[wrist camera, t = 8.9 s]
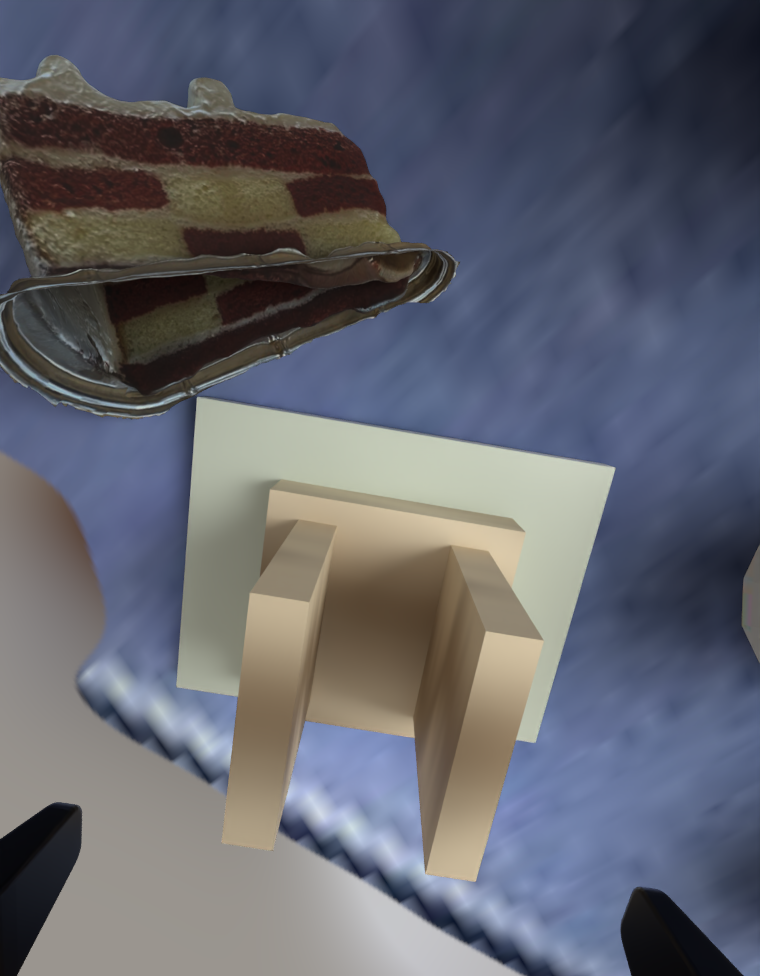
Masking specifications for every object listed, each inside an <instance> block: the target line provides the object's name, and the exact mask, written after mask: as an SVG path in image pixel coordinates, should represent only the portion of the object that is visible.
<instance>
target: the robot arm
mask: <svg viewBox="0 0 760 976" xmlns="http://www.w3.org/2000/svg"><path fill="white" fill-rule="evenodd" d="M81 831H82V810H81V808H80V806H78V805H75V804H68V803H61V802H56V803H53V804H51V805H49V806H47V807H45V808H44V809H43V810H41V811H40V812H39V813H37V814H35V815H34V816H33V817H31V818H30V819H28V820H27V821H25V822H24V823H23V824H21V825H20V826H18V827H17V828H16V829H14V830H13V831H11V832H10V833H8V834H7V835H6V836H4V837H3V838H1V839H0V976H17V974H18V973H19V971H20V969H21V967H22V965H23V963H24V961H25V959H26V957H27V955H28V953H29V952H30V949H31V948H32V946H33V944H34V942H35V940H36V938H37V936H38V934H39V932H40V930H41V928H42V927H43V925H44V923H45V921H46V919H47V917H48V915H49V913H50V911H51V909H52V907H53V905H54V903H55V901H56V900H57V898H58V896H59V894H60V892H61V890H62V888H63V886H64V884H65V882H66V880H67V878H68V877H69V875H70V872H71V871H72V869H73V867H74V865H75V863H76V860H77V858H78V856H79V853H80V849H81V836H82V834H81V833H82V832H81ZM621 938H622V943H623V947H624V950H625V954H626V958H627V961H628V965H629V968H630V972H631V975H632V976H743V975H742V974H741V972H740V971H739V970H738V969H737V968H736V967H735V966H734V965H733V964H732V963H731V962H730V961H729V960H728V959H727V958H726V957H725V956H724V955H723V953H722V952H721V951H720V950H719V949H718V948H717V947H716V946H715V945H714V944H713V943H712V942H711V941H710V940H709V939H708V938H707V937H706V935H705V934H704V933H703V932H702V931H701V930H700V929H699V928H698V927H697V926H696V925H695V924H694V923H693V922H692V921H691V920H690V919H689V917H688V916H687V915H686V914H685V913H684V912H683V911H682V910H681V909H680V908H679V907H678V906H677V905H676V904H675V903H674V902H673V901H672V900H671V898H670V897H669V896H667V895H666V894H665V893H664V892H662V891H660V890H657V889H652V888H645V887H637V888H635V889H634V890H633V892H632V894H631V897H630V899H629V902H628V905H627V907H626V910H625V913H624V915H623V918H622V921H621Z"/></svg>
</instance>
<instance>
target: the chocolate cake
mask: <svg viewBox="0 0 760 976" xmlns="http://www.w3.org/2000/svg"><path fill="white" fill-rule="evenodd" d="M0 183H1V187H2V190H3V193H4V198H5V201H6V203H7V205H8V208H9V212H10V216H11V219H12V221H13V225H14V230H15V235H16V237H17V239H18V241H19V243H20V245H21V246H22V249H23V251H24V255H25V259H26V264H27V266H28V268H29V271H30V274H31V277H32V278H22V279H18V280H16V281H14V282H13V284H12V285H11V287H10V289H9V291H8V292H7V294H1V295H0V366H1V368H2V369H3V370H4V371H5V372H6V373H7V374H10V378H12V379H13V380H14V382H15V383H17V382H18V383H21V384H22V386H24V387H26V388H28V386H29V387H31V389H32V390H35V391H36V392H38V393H39V394H40V395H42V396H43V397H44V398H45V399H47V400H48V401H49V402H50V403H51V404H53V405H54V406H55V407H56V406H57V404H58V403H61V402H62V404H63V405H64V406H67V405H68V404H69V405H71V406H74V407H76V408H75V409H78V410H83V411H87V412H91V413H93V414H96V415H98V416H100V417H104V416H112V417H117V418H118V417H123V418H122V419H126V418H129V419H139V418H143V417H146V416H149V417H151V416H153V415H158V416H159V415H161V414H164V413H165V412H167V411H168V410H169V409H170V408H171V407H172V406H174V405H175V404H177V403H179V402H181V401H183V400H186V399H188V398H191V397H193V396H195V395H197V394H198V393H200V392H202V391H203V390H206V389H208V388H210V387H212V386H214V385H216V384H219V383H221V382H223V381H225V380H229V379H231V378H233V377H236V376H238V375H241V374H243V373H245V372H246V371H247V370H249V369H250V368H251V367H254V366H257V365H259V364H260V363H266V362H269V361H271V360H273V359H280V358H281V357H283V356H286V355H290V354H291V353H292V352H293V351H295V350H297V349H298V348H299V347H300V346H302V345H303V344H306V343H311V342H312V340H313V339H315V338H319V337H322V336H328V335H330V334H332V333H335V332H338V331H340V330H342V329H344V328H345V327H347V326H351V325H354V324H356V323H358V322H360V321H363V320H365V319H371V318H375V317H376V316H377V315H378V314H380V313H381V312H387V311H389V310H390V309H392V308H394V307H395V306H398V305H402V304H405V303H407V302H419V303H429V302H431V301H434V300H435V298H436V297H438V296H439V295H440V294H441V293H442V292H443V291H444V292H445V291H446V289H447V287H448V285H449V284H451V283H450V281H451V279H452V278H454V277H455V276H456V272H455V270H456V269H457V267H458V265H459V263H460V262H457V261H455V260H454V257H451V256H452V255H450V254H448V252H446V251H442V250H438V249H433V250H432V249H431V248H430V247H428V246H427V245H426V244H423V243H409V242H401V239H400V236H399V234H398V233H397V232H396V231H395V230H394V229H393V228H392V227H390V226H389V225H388V223H387V221H386V205H385V202H384V199H383V197H382V195H381V194H380V191H379V189H378V184H377V181H376V180H375V179H374V178H373V177H372V176H371V174H370V173H369V171H368V167H367V164H366V161H365V158H364V156H363V154H362V151H361V150H360V148H358V147H357V146H356V145H355V144H354V143H353V142H352V141H351V140H349V139H348V138H346V137H345V136H344V135H343V134H342V133H341V132H340V131H339V129H338V128H337V127H336V126H335V125H334V124H332V123H324V122H322V121H317V120H313V119H309V118H305V117H299V116H294V115H289V114H284V113H278V114H274V115H264V114H257V113H254V112H249V111H243V110H240V109H237V108H236V107H235V106H234V104H233V100H232V96H231V93H230V92H229V90H228V89H227V87H226V86H225V85H224V84H223V83H222V82H220V81H218V80H214V79H210V78H196V79H194V80H192V81H191V83H190V85H189V90H188V106H187V108H183V107H180V106H178V105H175V104H172V103H170V102H167V101H138V102H124V101H119V100H116V99H113V98H110V97H108V96H105V95H104V94H102V93H101V92H99V91H98V90H96V89H95V88H93V87H92V86H91V85H89V84H88V83H87V82H86V81H85V80H84V79H83V77H82V76H81V74H80V71H79V70H78V69H77V68H76V67H75V66H74V64H72V63H71V62H70V61H69V60H67V59H65V58H63V57H61V56H58V55H50V56H48V57H46V58H45V59H43V60H42V62H41V63H40V64H39V67H38V70H37V73H36V77H35V78H32V79H29V80H12V79H7V78H0Z"/></svg>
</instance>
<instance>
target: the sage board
mask: <svg viewBox="0 0 760 976" xmlns="http://www.w3.org/2000/svg"><path fill="white" fill-rule="evenodd" d="M614 472H615V467H612V466H609V465H606V464H602V463H597V462H591V461H585V460H579V459H573V458H567V457H561V456H555V455H549V454H543V453H538V452H532V451H526V450H520V449H514V448H508V447H502V446H496V445H490V444H484V443H478V442H473V441H467V440H461V439H455V438H449V437H443V436H437V435H431V434H425V433H419V432H413V431H408V430H402V429H396V428H390V427H384V426H378V425H372V424H366V423H360V422H354V421H349V420H343V419H337V418H331V417H325V416H319V415H313V414H307V413H301V412H295V411H289V410H284V409H278V408H272V407H266V406H260V405H254V404H248V403H242V402H236V401H230V400H224V399H219V398H213V397H197V406H196V420H195V433H194V447H193V461H192V475H191V489H190V503H189V517H188V531H187V545H186V559H185V573H184V587H183V601H182V615H181V629H180V643H179V657H178V671H177V685H176V687H178V688H185V689H191V690H197V691H204V692H210V693H217V694H223V695H230V696H236V697H238V693H239V684H240V675H241V666H242V657H243V649H244V640H245V631H246V622H247V613H248V604H249V595H250V592H251V590H252V589H253V587H254V586H255V584H256V583H257V581H258V580H259V578H260V570H261V561H262V553H263V544H264V536H265V527H266V519H267V510H268V502H269V493H270V489H271V488H272V487H273V486H274V485H275V484H277V483H278V482H279V481H280V480H281V479H283V480H289V481H295V482H301V483H307V484H312V485H318V486H324V487H330V488H336V489H342V490H348V491H354V492H360V493H366V494H371V495H377V496H383V497H389V498H395V499H401V500H407V501H413V502H419V503H424V504H430V505H436V506H442V507H448V508H454V509H460V510H466V511H472V512H478V513H483V514H489V515H495V516H501V517H507V518H513V519H514V520H515V522H516V523H517V524H518V525H519V526H520V527H521V528H522V529H523V530H524V531H525V532H526V534H525V538H524V542H523V546H522V550H521V554H520V558H519V562H518V565H517V569H516V573H515V577H514V581H513V585H512V590H513V591H514V593H515V595H516V596H517V598H518V599H519V601H520V603H521V604H522V606H523V607H524V609H525V611H526V612H527V614H528V616H529V617H530V619H531V620H532V622H533V624H534V625H535V627H536V628H537V630H538V632H539V633H540V635H541V637H542V638H543V640H544V643H543V646H542V650H541V653H540V657H539V661H538V664H537V668H536V671H535V675H534V678H533V682H532V685H531V689H530V692H529V696H528V699H527V703H526V706H525V710H524V713H523V717H522V720H521V724H520V727H519V731H518V734H517V738H516V740H520V741H526V742H532V743H535V742H536V739H537V736H538V732H539V729H540V725H541V722H542V718H543V715H544V712H545V708H546V705H547V701H548V698H549V694H550V691H551V688H552V684H553V681H554V677H555V674H556V670H557V667H558V664H559V660H560V657H561V653H562V650H563V647H564V643H565V640H566V636H567V633H568V629H569V626H570V623H571V619H572V616H573V612H574V609H575V605H576V602H577V599H578V595H579V592H580V588H581V585H582V581H583V578H584V575H585V571H586V568H587V564H588V561H589V557H590V554H591V551H592V547H593V544H594V540H595V537H596V533H597V530H598V527H599V523H600V520H601V516H602V513H603V510H604V506H605V503H606V499H607V496H608V492H609V489H610V486H611V482H612V479H613V475H614Z"/></svg>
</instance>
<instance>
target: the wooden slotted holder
mask: <svg viewBox="0 0 760 976" xmlns="http://www.w3.org/2000/svg"><path fill="white" fill-rule="evenodd" d="M525 534H526V532H525V531H524V530H523V529H522V528H521V527H520V526H519V525H518V524H517V523H516V522H515V520H514V519H513V518H507V517H501V516H495V515H489V514H483V513H478V512H472V511H466V510H460V509H454V508H448V507H442V506H436V505H430V504H424V503H419V502H413V501H407V500H401V499H395V498H389V497H383V496H377V495H371V494H366V493H360V492H354V491H348V490H342V489H336V488H330V487H324V486H318V485H312V484H307V483H301V482H295V481H289V480H283V479H281V480H280V481H279V482H278V483H277V484H275V485H274V486H273V487H272V488H271V489H270V493H269V502H268V510H267V519H266V527H265V536H264V544H263V553H262V561H261V570H260V578H259V580H258V581H257V583H256V584H255V586H254V587H253V589H252V590H251V592H250V595H249V604H248V613H247V622H246V631H245V640H244V649H243V657H242V666H241V675H240V684H239V693H238V702H237V711H236V719H235V728H234V737H233V746H232V755H231V764H230V773H229V781H228V790H227V799H226V809H225V817H224V826H223V835H222V844H229V845H236V846H242V847H249V848H256V849H262V850H269V851H273V848H274V844H275V840H276V836H277V832H278V828H279V824H280V820H281V816H282V812H283V808H284V804H285V800H286V796H287V792H288V788H289V784H290V780H291V776H292V772H293V768H294V763H295V759H296V755H297V751H298V747H299V743H300V739H301V735H302V731H303V727H304V723H305V721H310V722H316V723H323V724H329V725H335V726H342V727H348V728H354V729H361V730H367V731H373V732H380V733H386V734H392V735H399V736H405V737H411V738H415V749H416V761H417V774H418V787H419V800H420V813H421V825H422V838H423V851H424V864H425V874H428V875H434V876H441V877H447V878H454V879H461V880H467V881H474V882H476V879H477V875H478V872H479V868H480V865H481V861H482V858H483V854H484V850H485V847H486V843H487V840H488V836H489V833H490V829H491V826H492V822H493V819H494V815H495V812H496V808H497V805H498V801H499V798H500V794H501V791H502V787H503V784H504V780H505V777H506V773H507V770H508V766H509V763H510V759H511V755H512V752H513V748H514V745H515V741H516V738H517V734H518V731H519V727H520V724H521V720H522V717H523V713H524V710H525V706H526V703H527V699H528V696H529V692H530V689H531V685H532V682H533V678H534V675H535V671H536V668H537V664H538V661H539V657H540V653H541V650H542V646H543V643H544V640H543V638H542V637H541V635H540V633H539V632H538V630H537V628H536V627H535V625H534V624H533V622H532V620H531V619H530V617H529V616H528V614H527V612H526V611H525V609H524V607H523V606H522V604H521V603H520V601H519V599H518V598H517V596H516V595H515V593H514V591H513V590H512V585H513V581H514V577H515V573H516V569H517V565H518V562H519V558H520V554H521V550H522V546H523V542H524V538H525Z"/></svg>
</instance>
